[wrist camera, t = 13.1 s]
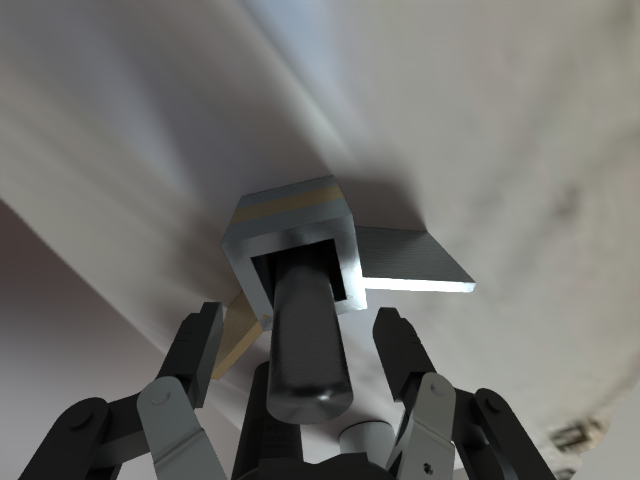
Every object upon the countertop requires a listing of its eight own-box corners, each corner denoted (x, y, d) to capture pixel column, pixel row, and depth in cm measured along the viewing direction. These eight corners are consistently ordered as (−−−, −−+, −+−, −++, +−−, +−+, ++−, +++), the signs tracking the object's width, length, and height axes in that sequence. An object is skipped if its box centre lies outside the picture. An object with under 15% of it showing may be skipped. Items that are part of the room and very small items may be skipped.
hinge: (427, 267, 25) (470, 324, 19) (229, 313, 26) (211, 382, 20) (429, 151, 19) (492, 180, 13) (172, 213, 20) (120, 268, 14)
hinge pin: (321, 237, 22) (358, 414, 10) (285, 245, 22) (280, 431, 10) (313, 204, 20) (346, 369, 8) (275, 213, 21) (253, 389, 9)
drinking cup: (235, 385, 32) (172, 727, 15) (252, 348, 29) (196, 732, 12) (292, 393, 34) (294, 699, 17) (314, 359, 31) (345, 697, 14)
